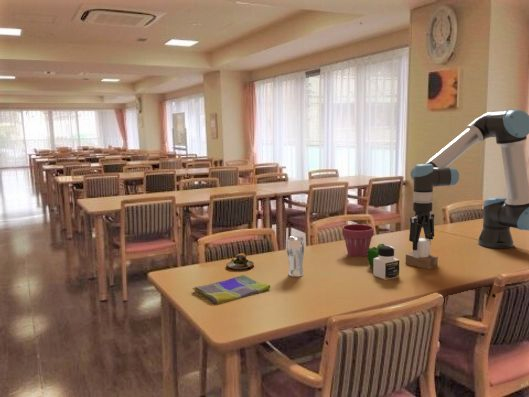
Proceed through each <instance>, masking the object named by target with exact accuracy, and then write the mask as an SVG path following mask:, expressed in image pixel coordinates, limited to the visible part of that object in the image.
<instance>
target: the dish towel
mask: <svg viewBox="0 0 529 397" xmlns="http://www.w3.org/2000/svg"><path fill="white" fill-rule="evenodd" d="M269 289H271V285H270V284H267V283H260V282H257V281H256V280H254V279H253V278H251V277H249V276H248V275H246V274H244V275H240V276H235V277H232V278H229V279H225V280H221V281H217V282H213V283H209V284H207V285H206V284H205V285H200V286H199V285H198V286H194V287H192V290H193V291H194V292H196V293H198V294H199V295H200V296H202V297H204V298H205V299H206V300H207V301H208V302H210V303H211V304H212V305H220V304H224V303H228V302H233V301H235V300H239V299H244V298H247V297H250V296H254V295H257V294H260V293H263V292H265V291H267V290H269Z"/></svg>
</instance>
